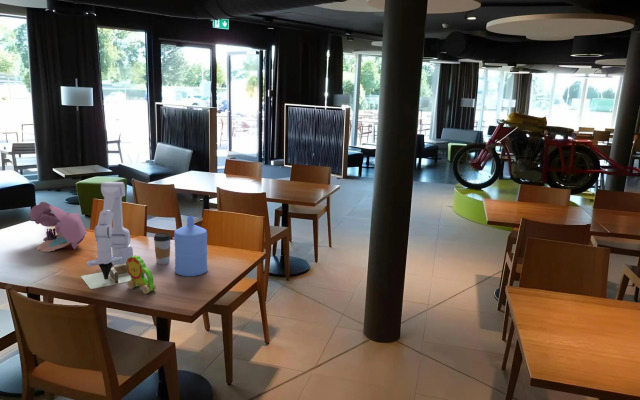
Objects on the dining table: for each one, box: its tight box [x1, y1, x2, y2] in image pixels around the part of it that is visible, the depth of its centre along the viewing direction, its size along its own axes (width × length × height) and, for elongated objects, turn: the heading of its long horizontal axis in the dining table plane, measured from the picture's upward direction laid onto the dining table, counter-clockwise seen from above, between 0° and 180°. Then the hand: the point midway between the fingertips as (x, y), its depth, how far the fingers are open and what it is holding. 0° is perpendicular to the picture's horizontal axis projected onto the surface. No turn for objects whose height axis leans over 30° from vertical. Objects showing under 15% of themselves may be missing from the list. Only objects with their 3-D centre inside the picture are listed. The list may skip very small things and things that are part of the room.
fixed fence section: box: [110, 263, 128, 276], centre depth 234 cm, size 12×2×5 cm, turn 129°
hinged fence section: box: [110, 266, 118, 283], centre depth 226 cm, size 10×2×5 cm, turn 35°
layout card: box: [80, 271, 131, 290], centre depth 230 cm, size 24×18×1 cm
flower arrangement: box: [29, 201, 87, 253], centre depth 266 cm, size 35×24×28 cm
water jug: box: [173, 215, 208, 277], centre depth 239 cm, size 16×16×28 cm
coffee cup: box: [153, 232, 172, 265], centre depth 250 cm, size 8×8×15 cm
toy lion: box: [126, 255, 157, 295], centre depth 217 cm, size 16×5×15 cm, turn 58°
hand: (106, 278), depth 223 cm, fingers closed
